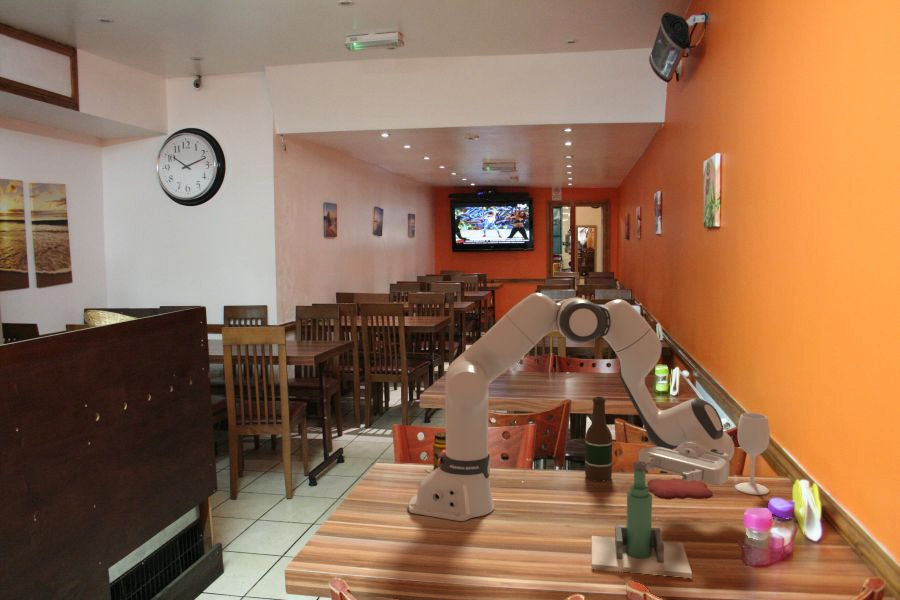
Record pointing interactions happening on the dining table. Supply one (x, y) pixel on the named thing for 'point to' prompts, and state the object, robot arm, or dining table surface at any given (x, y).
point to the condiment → (438, 449)
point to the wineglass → (753, 446)
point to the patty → (679, 489)
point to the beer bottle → (598, 445)
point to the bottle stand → (661, 562)
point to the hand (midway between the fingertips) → (665, 472)
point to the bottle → (639, 515)
